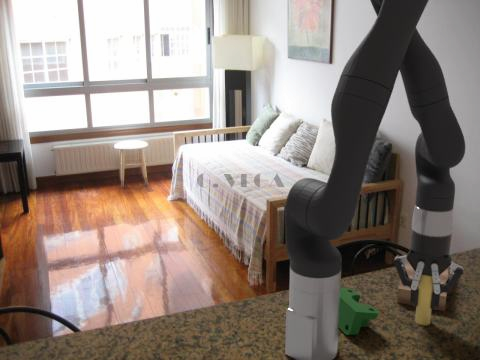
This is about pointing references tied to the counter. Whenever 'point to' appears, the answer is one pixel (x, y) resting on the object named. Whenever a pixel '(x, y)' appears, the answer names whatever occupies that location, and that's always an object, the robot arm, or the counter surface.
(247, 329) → the counter surface
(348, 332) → the clamp
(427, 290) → the peg
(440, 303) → the hole block
